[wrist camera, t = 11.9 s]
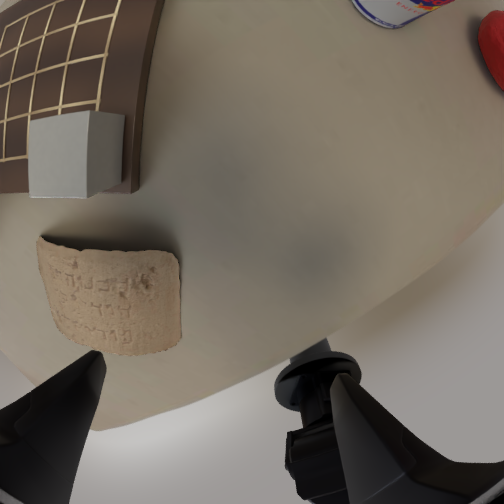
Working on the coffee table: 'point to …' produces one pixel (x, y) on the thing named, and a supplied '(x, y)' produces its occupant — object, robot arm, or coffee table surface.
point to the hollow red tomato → (493, 44)
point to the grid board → (73, 73)
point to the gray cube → (75, 154)
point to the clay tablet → (113, 297)
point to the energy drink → (396, 10)
